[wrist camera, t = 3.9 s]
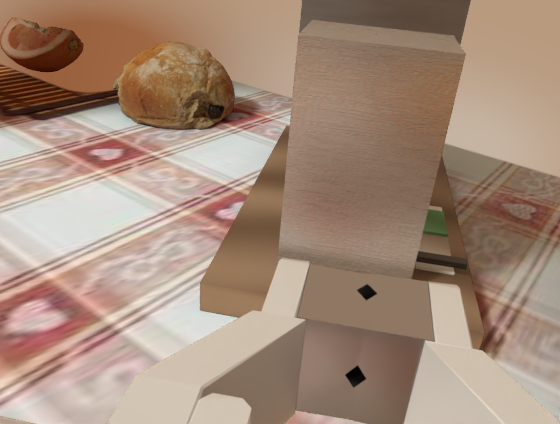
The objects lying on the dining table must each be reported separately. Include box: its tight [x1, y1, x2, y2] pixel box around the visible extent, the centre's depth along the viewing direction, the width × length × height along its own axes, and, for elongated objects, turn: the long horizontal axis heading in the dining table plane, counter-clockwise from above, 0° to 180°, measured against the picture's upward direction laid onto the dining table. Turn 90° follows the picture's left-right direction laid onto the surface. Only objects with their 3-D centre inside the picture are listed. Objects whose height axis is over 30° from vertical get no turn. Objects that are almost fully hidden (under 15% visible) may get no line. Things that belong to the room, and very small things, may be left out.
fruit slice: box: [0, 18, 83, 72], centre depth 55 cm, size 8×7×5 cm
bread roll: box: [113, 42, 235, 130], centre depth 46 cm, size 10×10×8 cm
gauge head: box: [277, 20, 468, 279], centre depth 24 cm, size 7×9×10 cm
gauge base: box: [200, 0, 485, 350], centre depth 29 cm, size 22×12×14 cm, turn 170°
